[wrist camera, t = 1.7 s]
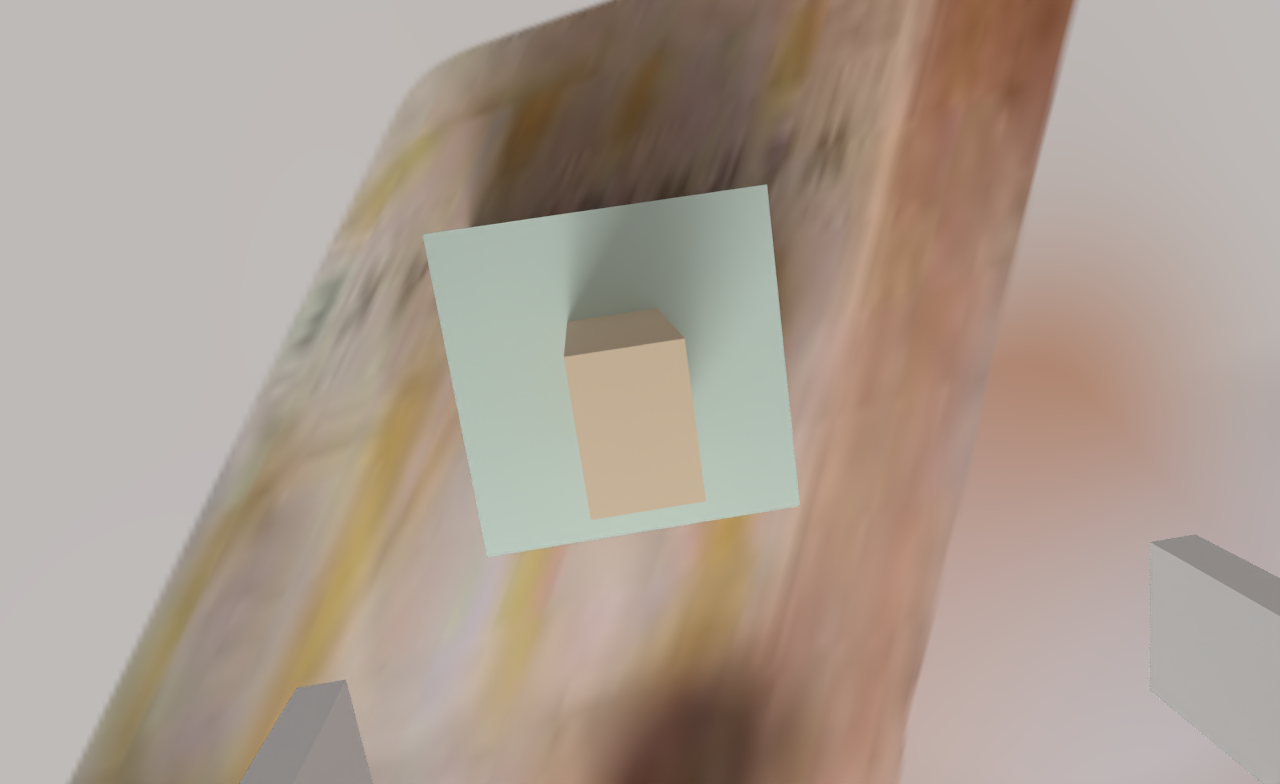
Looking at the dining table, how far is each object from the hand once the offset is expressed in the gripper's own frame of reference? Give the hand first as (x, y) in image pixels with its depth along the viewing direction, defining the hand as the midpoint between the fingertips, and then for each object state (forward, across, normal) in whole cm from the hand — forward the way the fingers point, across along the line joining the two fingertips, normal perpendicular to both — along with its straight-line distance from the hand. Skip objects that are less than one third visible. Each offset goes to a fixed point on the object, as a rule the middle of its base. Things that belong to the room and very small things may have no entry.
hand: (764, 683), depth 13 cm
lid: (+20, -1, +1) cm, 20 cm away
